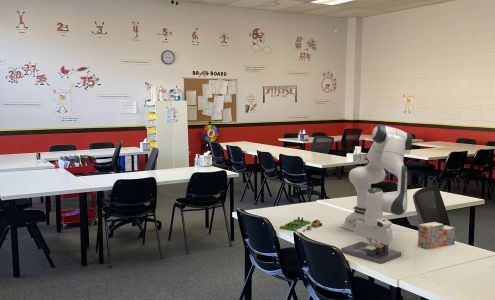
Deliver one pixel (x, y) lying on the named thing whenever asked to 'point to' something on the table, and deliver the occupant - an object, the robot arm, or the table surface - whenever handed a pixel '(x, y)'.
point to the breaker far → (384, 245)
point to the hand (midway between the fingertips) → (372, 247)
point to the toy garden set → (300, 224)
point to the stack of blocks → (435, 235)
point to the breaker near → (370, 250)
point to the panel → (360, 252)
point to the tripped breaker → (378, 248)
